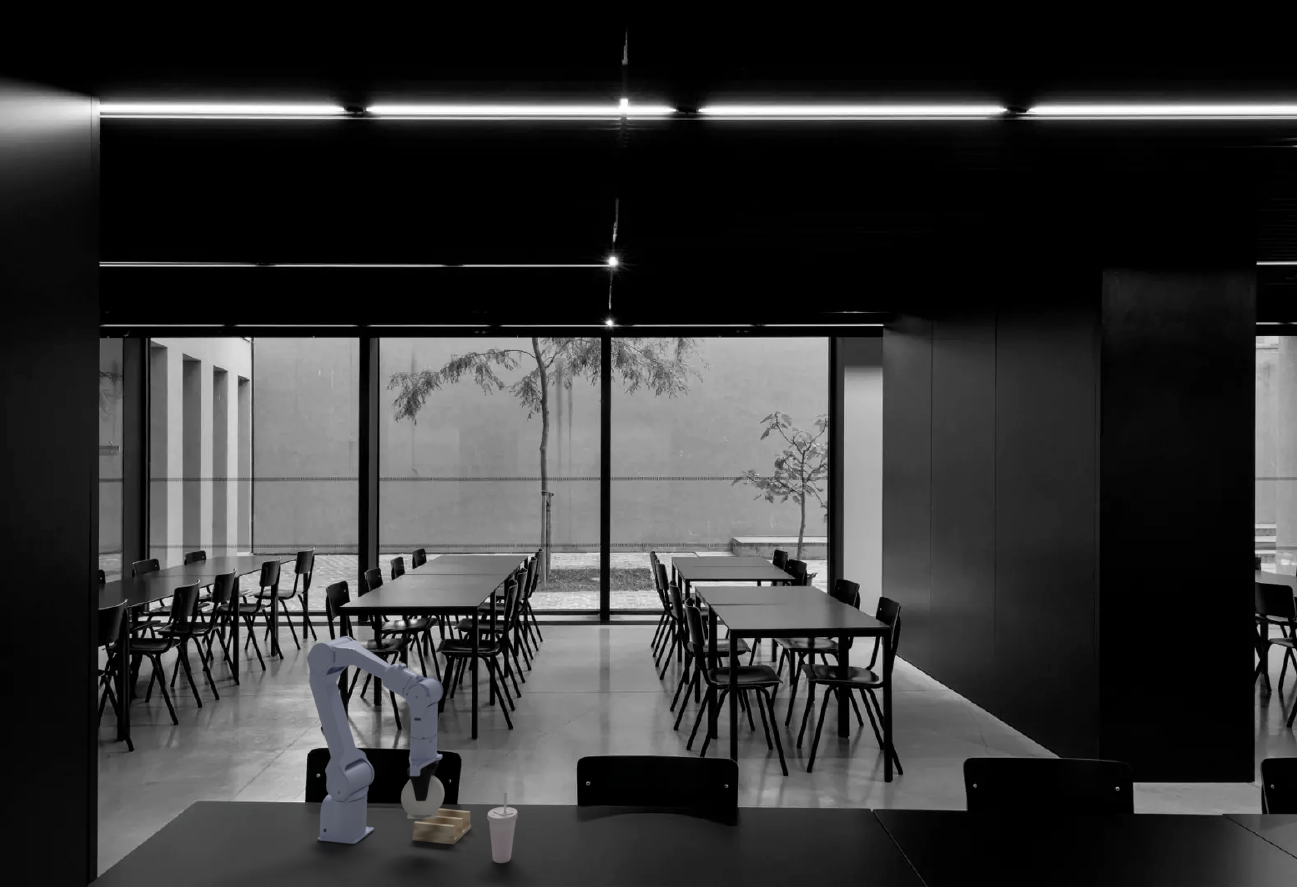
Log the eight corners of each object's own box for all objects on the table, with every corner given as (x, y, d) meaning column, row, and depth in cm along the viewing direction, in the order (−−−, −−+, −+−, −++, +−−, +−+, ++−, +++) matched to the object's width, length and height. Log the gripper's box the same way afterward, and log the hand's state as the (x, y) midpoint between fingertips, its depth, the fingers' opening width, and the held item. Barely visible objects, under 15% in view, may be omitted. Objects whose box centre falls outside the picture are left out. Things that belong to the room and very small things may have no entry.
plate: (400, 818, 177) (401, 776, 177) (403, 815, 179) (404, 773, 179) (441, 818, 177) (442, 776, 178) (443, 815, 179) (444, 773, 180)
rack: (412, 840, 181) (412, 822, 181) (431, 824, 190) (431, 807, 190) (453, 844, 179) (454, 827, 179) (470, 828, 188) (471, 811, 188)
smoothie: (510, 867, 168) (511, 798, 169) (481, 864, 170) (482, 796, 170) (521, 853, 175) (522, 787, 175) (493, 851, 176) (494, 785, 177)
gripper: (433, 745, 172) (432, 811, 171) (449, 725, 186) (448, 786, 186) (400, 745, 172) (399, 811, 171) (418, 725, 186) (417, 786, 185)
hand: (422, 798), depth 178 cm, fingers closed on plate, 2 cm apart
